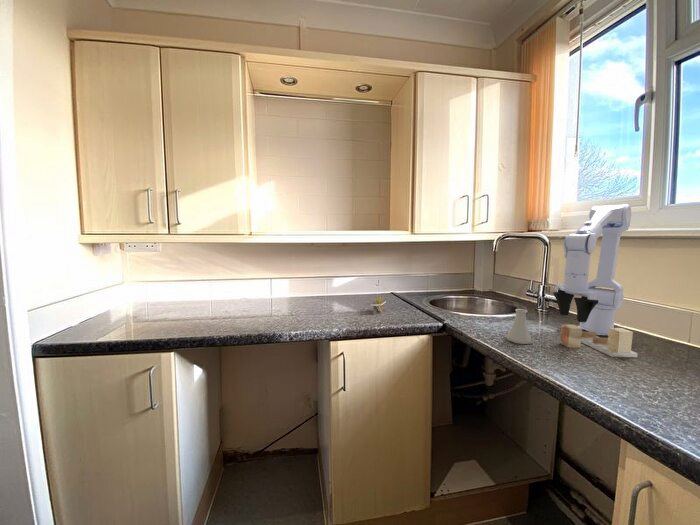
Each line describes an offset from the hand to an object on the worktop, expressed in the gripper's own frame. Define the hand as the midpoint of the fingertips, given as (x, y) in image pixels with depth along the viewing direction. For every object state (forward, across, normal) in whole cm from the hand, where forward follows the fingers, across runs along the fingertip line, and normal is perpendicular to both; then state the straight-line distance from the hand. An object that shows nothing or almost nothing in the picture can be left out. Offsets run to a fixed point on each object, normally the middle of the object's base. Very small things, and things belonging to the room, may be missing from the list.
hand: (572, 318), depth 92 cm
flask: (+9, -3, -14) cm, 17 cm away
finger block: (+8, 0, 0) cm, 8 cm away
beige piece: (+8, +1, +9) cm, 12 cm away
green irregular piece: (+9, -34, -56) cm, 66 cm away
